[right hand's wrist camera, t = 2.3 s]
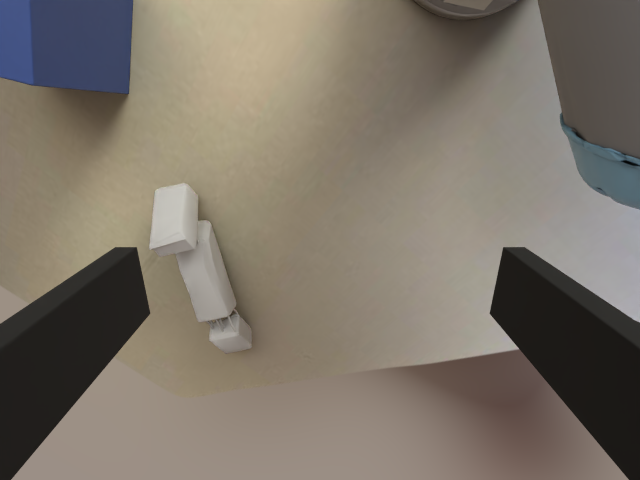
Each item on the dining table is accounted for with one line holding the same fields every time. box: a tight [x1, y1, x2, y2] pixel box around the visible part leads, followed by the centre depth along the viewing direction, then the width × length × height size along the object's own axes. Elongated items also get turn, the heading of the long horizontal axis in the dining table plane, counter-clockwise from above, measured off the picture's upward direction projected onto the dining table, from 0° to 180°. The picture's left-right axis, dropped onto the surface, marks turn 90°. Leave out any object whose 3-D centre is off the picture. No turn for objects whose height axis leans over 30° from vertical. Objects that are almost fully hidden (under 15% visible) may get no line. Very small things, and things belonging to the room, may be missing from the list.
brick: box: [0, 0, 133, 94], centre depth 25 cm, size 8×9×12 cm
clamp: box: [149, 183, 252, 354], centre depth 36 cm, size 20×4×7 cm, turn 14°
